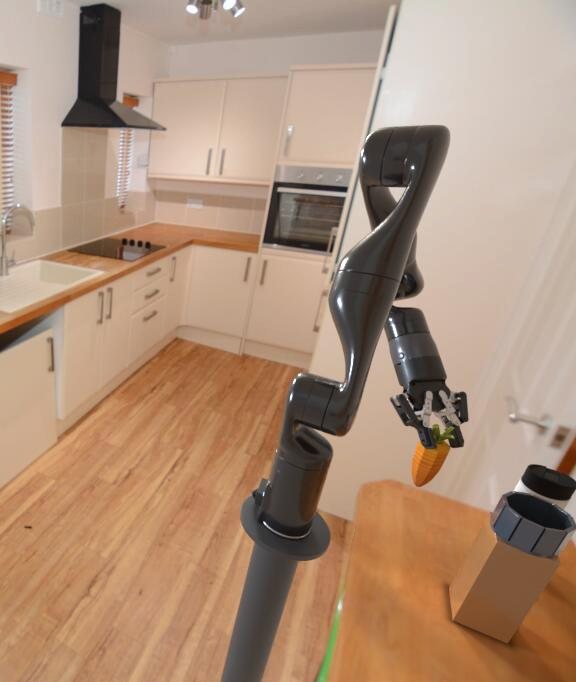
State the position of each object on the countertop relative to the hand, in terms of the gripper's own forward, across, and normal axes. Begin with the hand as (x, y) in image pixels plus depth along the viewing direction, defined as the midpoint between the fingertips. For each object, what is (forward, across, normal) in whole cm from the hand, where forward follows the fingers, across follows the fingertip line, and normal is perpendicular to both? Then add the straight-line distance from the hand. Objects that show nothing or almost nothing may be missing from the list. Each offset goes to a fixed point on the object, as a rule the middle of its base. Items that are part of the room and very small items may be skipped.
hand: (444, 447), depth 84 cm
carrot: (+7, 0, -9) cm, 11 cm away
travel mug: (+20, -12, -7) cm, 24 cm away
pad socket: (+27, +4, 0) cm, 27 cm away
